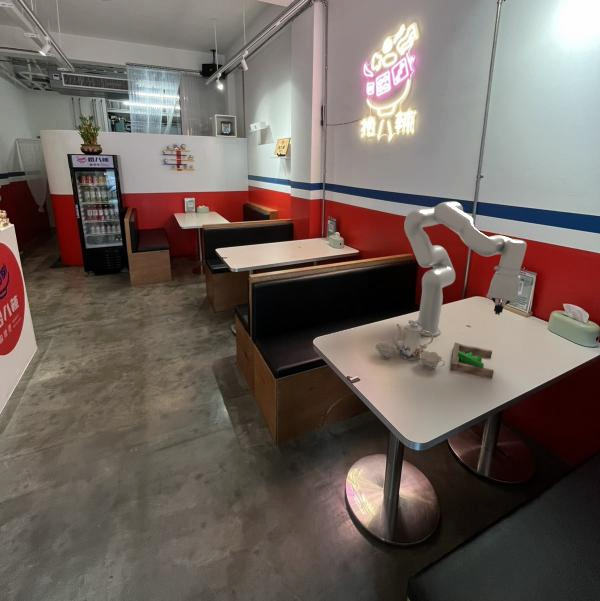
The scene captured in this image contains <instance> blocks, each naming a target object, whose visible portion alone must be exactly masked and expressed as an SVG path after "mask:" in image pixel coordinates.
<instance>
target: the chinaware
mask: <svg viewBox="0 0 600 601" xmlns="http://www.w3.org/2000/svg"><path fill="white" fill-rule="evenodd" d="M415 321H416V320H413V322H412V323H411V324H409V323H408V324H406V325H405V329H406V330H405V335H404V338H403V340H400V337H401V333H402V326H401V325H400V324H398V323H397V324H396V326H397V331H396V332H395V335H394V337H393V343H391V342H390V341H384V342H382V341H381V342H378V343H377V344H375V349H376V351H377V352H378V353H379V355H380V356H381V358H382V359H385V360H388V359H390V358H392V357H393V356H394V355H395V354H396V352H397V351H398V352H399V356H400V357H401V358H402V359H404V360H408V361H417V360H419V359H420V362H421V364H422V366H424V369H427V370H433V368H437V367H441V368H442V367H444V366H445V360H443V357H442V356H440V355H439V354H438V353H437V352H435V351H431V352H429V351H427V350H426V349H427V348H428V346H429V345H430V344H432V343H433V341H434V337H433V335H432V334H431V333H430V332H429V331H426V330H422V331H424V332H427V333H429V334H430V335H431V337H430V338H431V340H430V341H429V342H427V343H421V340H420V336H421V335H420V333H421V332H422V331H421V329H422V328H421V327H420V326H419V325H417V324H416V322H415ZM424 332H422V333H421V334H424ZM440 362H443V364H442V365H439V363H440Z"/></svg>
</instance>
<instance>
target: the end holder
mask: <svg viewBox="0 0 600 601" xmlns="http://www.w3.org/2000/svg"><path fill="white" fill-rule="evenodd" d="M459 351H461V352H465V353H464V354H468V353H470V352H472V355H473V354H474V355H475V356H478V357H483V358H489V359H491V358H492V354H493V350H492V349H487V348H481V347H477V346H472V345H466V344H461V343H459V342H454V345H453V351H452V356H451V365H450V371H454V372H456V371H457V372H461V373H465V374H469V375H474V376H479V377H483V378H488V379H493V377H494V371H495V370H494V369H491V368H486V367H483V368H481V367H477V366H473V365H468V364H463V363H461V362H459V361H458V352H459Z"/></svg>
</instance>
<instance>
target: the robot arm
mask: <svg viewBox="0 0 600 601" xmlns="http://www.w3.org/2000/svg"><path fill="white" fill-rule="evenodd" d="M474 221H475V220H474V217H473V216H471V215H469V214H467V213H466V212H465V211H464V207H463V205H462V204H461V203H459V202H458V201H453V200H452V201H443V202H441V203H439V204H437V205H435V206H432V207H421V208H418V209H417V208H416V209H414V210H412V211H410V212H409V213H408V214H407V215H406V217H405V220H404V224H403V225H404V227H403V228H404V232H405V235H406V237H407V238H408V241H409V243H410V246H411V248H412V250H413V254H414V256H415V259H416V261H417V263H418V265H419V266H420V267H421V268H431V267H432V269H429V270H427V271H426V272H424V274H423V276H422V278H421V290H422V291H421V298H420V305H419V312H418V319H417V320H413V319H408V322H407V323H408V324H411V323H412V322H413V321H415V322H416V324H417V325H419V326H420V327H421V328H422V329H421V331H422V330H426V331H429V332H430V333H431V334H432V335H433V338H434V337H438V336H440V335H441V332H442V331H441V329H440V328H439V324H440V320H441V319H440V318H441V313H442V311H441V310H442V306H443V301H444V300H443V299H444V296H443V288H445V287H448V286H450V285H452V284H453V283H454V282H455V280H456V271H455V269H454V266H453V263H452V261H451V258H450V257H449V254H448V252H447V250H446V249H445V247H443V246H441V245H437V244H435V245H433V244H432V242H431V240H430V236H429V235H428V234H427V232H426V231H425V230H424V229H423V228H427V227H433V226H437V225H440V224H441V225H444V226H445V227H446V228H449V229H450V230H452V232H454V233H455V234H456V235H458V236H459V238H460V239H461V241H462V242H463V244H465V246H466V247H468V248H469V249H470V250H472V251H474V252H475V253H477V254H478V255H480V256H482V257H487V258H488V257H492V256H496V255H501V256H500V260H499V264H498V265H497V266H494V268H493V270H495V273H494V274H493V276H492V279H491V281H490V285H489V288H488V293H487V294H486V298H487V299H489V300H491V301H492V302H493V303H494V308H493V312H494V315H498V316H500V314H502V313H503V310H504V307H505V306H506V305H508V304H516V303H517V299H518V294H519V290H520V285H521V275H520V272H521V269H522V264H523V262H524V257H525V255H526V251H527V246H528V244H527V242H526V241H524V240H522V239H516V238H510V237H507V236H504V235H501V234H499V235H498V234H495V235H491V236H487V235H485V234H484V233H483V232H480V231H479V230H478V228H476V227H475V225H474V223H475V222H474ZM499 300H501V302H500V301H499ZM422 332H424V331H422ZM422 332H421V333H422ZM421 333H420V335H419V336H424V337H429V338H432V337H431V335H430V334H429V333H427V332H424V334H421Z"/></svg>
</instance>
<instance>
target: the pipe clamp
mask: <svg viewBox="0 0 600 601" xmlns="http://www.w3.org/2000/svg"><path fill="white" fill-rule="evenodd" d="M482 357H483V356H478V357H475V356H473V354H472V352H470V353H463V352H461V351H460V352H458V362H459V363H463V364H468V365H473V366H477V367H481V368H485V367H484V366H485V365H484V362H482Z"/></svg>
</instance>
